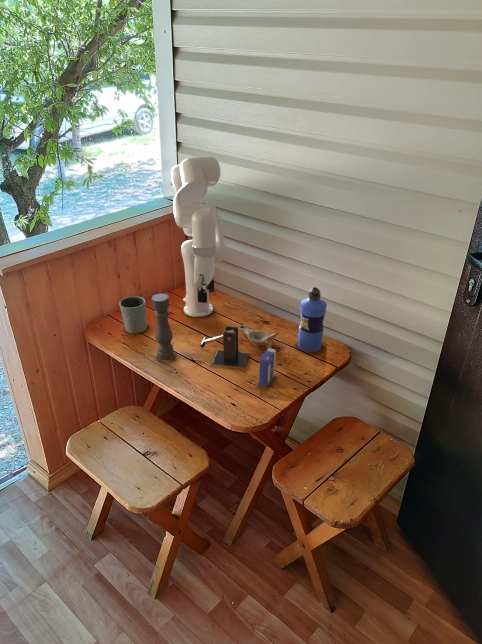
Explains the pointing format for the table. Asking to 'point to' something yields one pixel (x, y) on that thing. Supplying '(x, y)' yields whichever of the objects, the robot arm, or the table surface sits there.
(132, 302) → the grey green planter pot
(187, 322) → the table surface
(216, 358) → the switch base
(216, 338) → the switch lever
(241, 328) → the oil lamp
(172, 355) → the candle holder
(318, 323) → the water bottle
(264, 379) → the walkman
